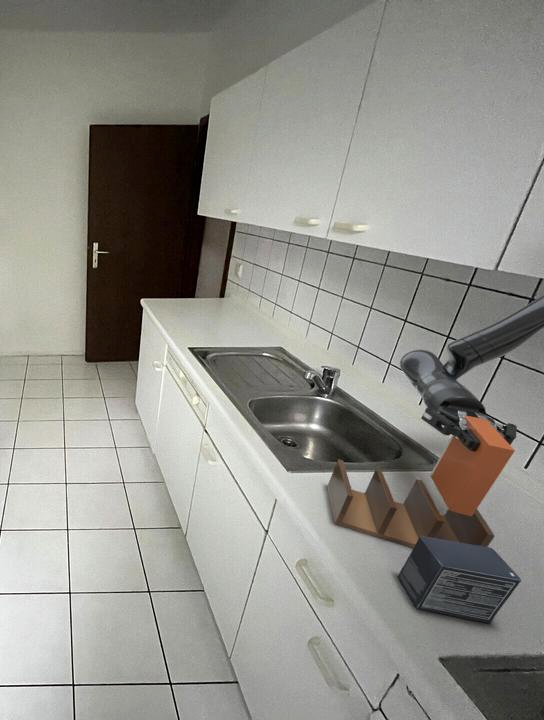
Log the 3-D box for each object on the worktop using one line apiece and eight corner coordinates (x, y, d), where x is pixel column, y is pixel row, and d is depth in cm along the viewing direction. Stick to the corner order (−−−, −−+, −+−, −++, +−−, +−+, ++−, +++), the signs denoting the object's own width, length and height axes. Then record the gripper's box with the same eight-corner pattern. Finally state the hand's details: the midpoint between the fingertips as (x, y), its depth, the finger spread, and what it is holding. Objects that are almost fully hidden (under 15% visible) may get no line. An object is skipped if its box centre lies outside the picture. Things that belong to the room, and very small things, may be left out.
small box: (463, 587, 68) (493, 545, 63) (492, 625, 62) (526, 582, 57) (395, 574, 70) (418, 532, 65) (415, 609, 64) (443, 566, 59)
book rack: (448, 520, 81) (465, 491, 78) (473, 566, 71) (495, 536, 68) (327, 486, 89) (338, 459, 86) (334, 524, 80) (347, 494, 76)
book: (449, 480, 78) (486, 418, 71) (472, 516, 70) (515, 450, 63) (429, 475, 79) (463, 414, 73) (449, 510, 71) (489, 445, 64)
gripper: (416, 379, 81) (447, 421, 67) (505, 395, 76) (560, 444, 62) (402, 409, 85) (429, 455, 71) (486, 426, 79) (534, 480, 65)
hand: (490, 450), depth 66 cm, fingers closed on book, 3 cm apart
